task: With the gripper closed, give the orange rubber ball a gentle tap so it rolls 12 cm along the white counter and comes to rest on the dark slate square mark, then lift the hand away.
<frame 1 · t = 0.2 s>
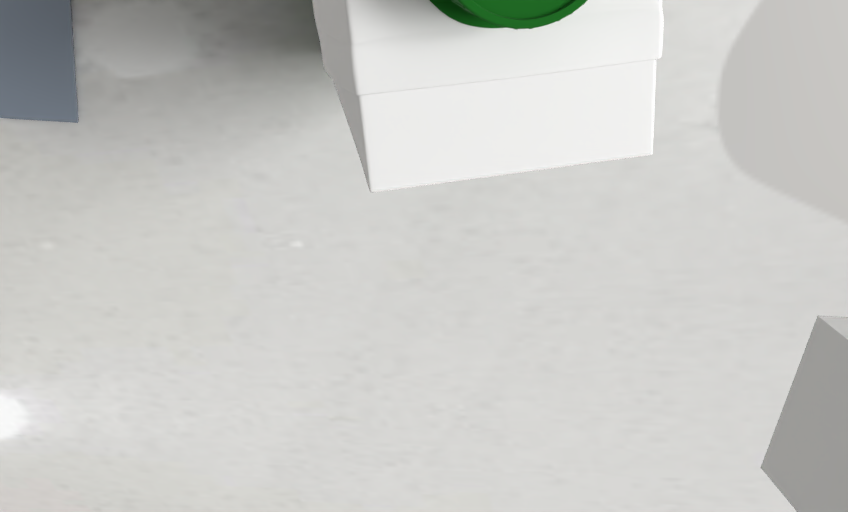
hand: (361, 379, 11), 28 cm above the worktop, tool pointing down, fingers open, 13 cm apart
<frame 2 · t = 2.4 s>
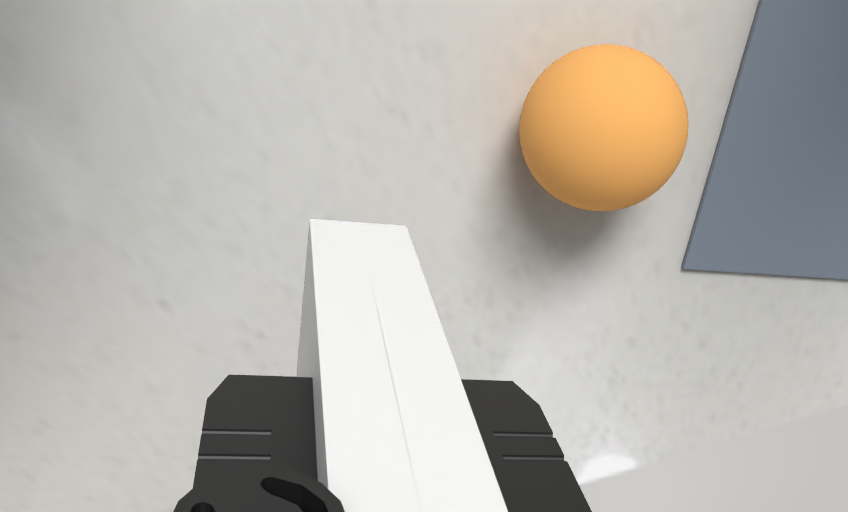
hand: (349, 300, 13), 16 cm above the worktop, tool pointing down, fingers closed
ball: (601, 129, 27), on the worktop
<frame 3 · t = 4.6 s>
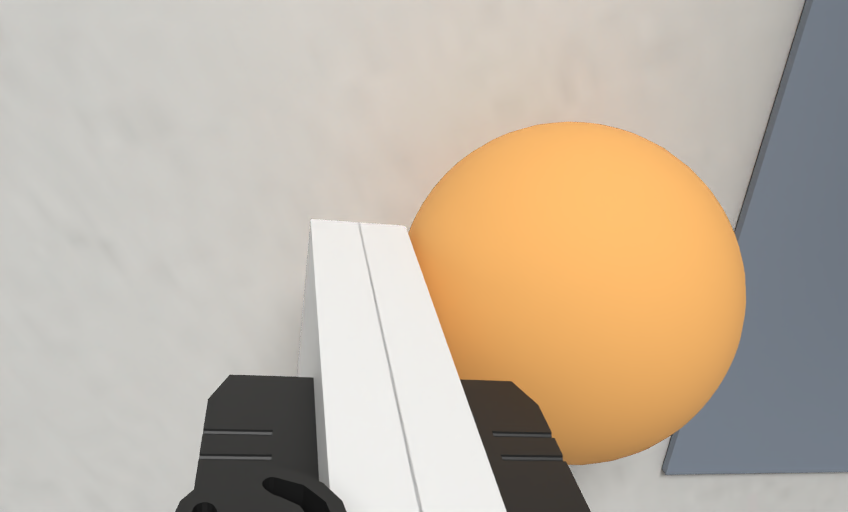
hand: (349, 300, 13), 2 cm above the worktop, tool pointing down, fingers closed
ball: (565, 291, 13), on the worktop
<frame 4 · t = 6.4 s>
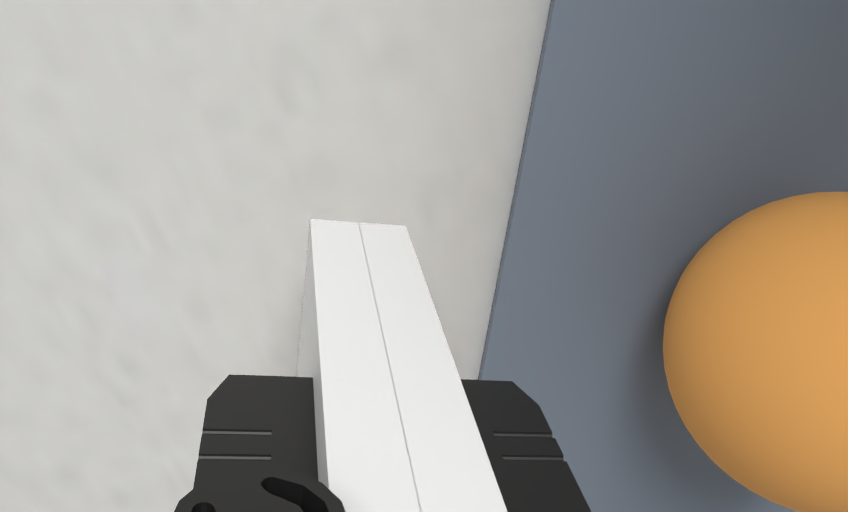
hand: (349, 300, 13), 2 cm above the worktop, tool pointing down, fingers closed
ball: (829, 351, 14), on the worktop
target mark: (782, 280, 16), on the worktop
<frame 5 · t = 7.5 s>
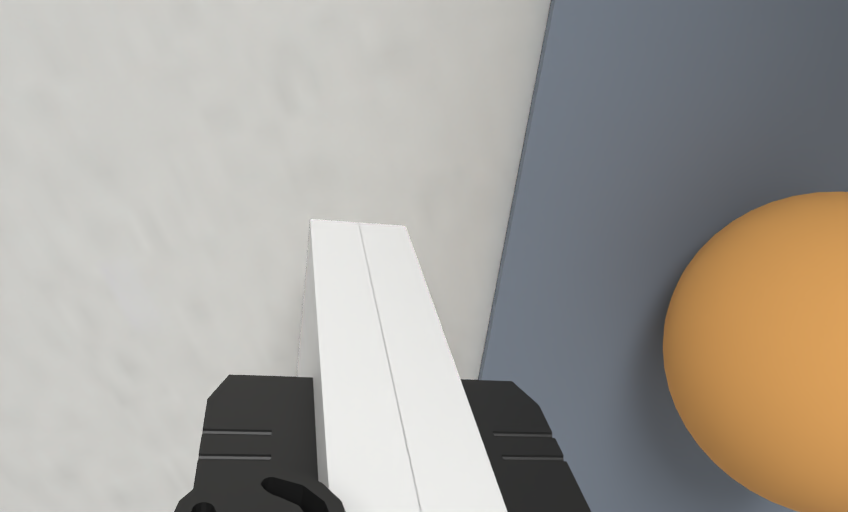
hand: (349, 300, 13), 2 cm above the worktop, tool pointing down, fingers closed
ball: (829, 351, 14), on the worktop
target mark: (782, 280, 16), on the worktop
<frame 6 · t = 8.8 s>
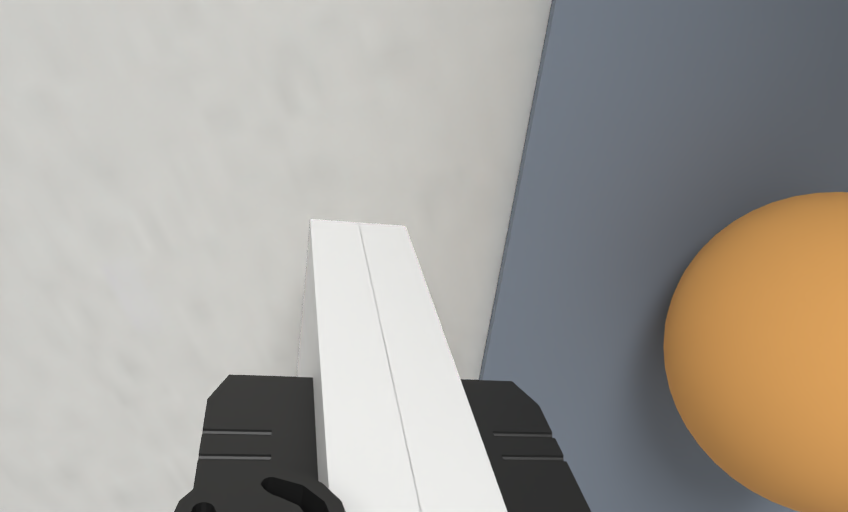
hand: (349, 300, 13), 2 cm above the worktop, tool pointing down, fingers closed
ball: (830, 351, 14), on the worktop
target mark: (782, 280, 16), on the worktop
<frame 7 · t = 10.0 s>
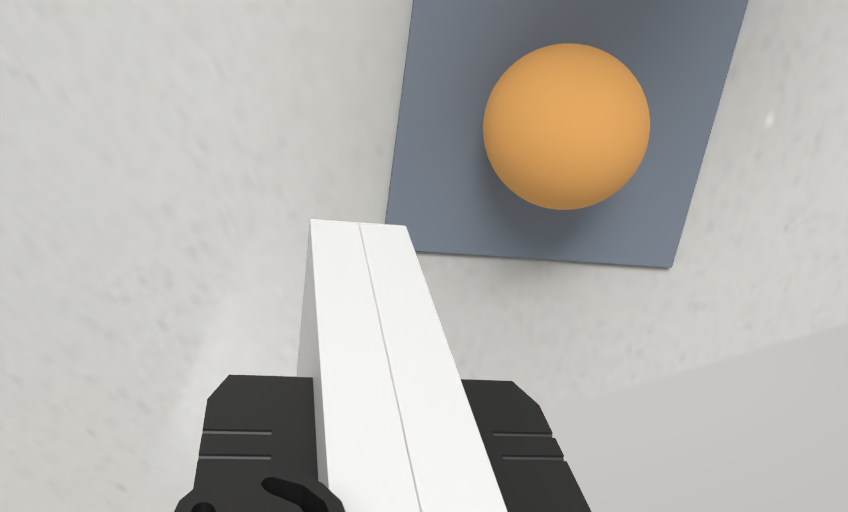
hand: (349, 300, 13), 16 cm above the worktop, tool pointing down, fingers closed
ball: (565, 127, 27), on the worktop
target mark: (562, 108, 29), on the worktop
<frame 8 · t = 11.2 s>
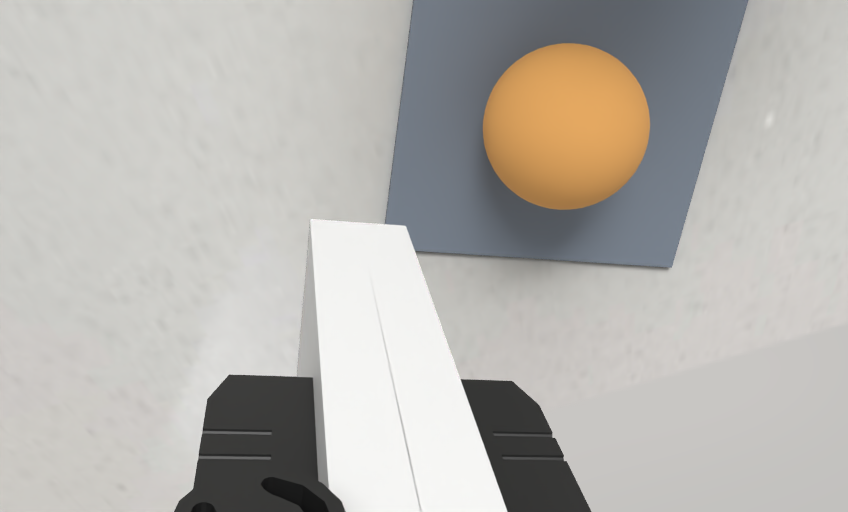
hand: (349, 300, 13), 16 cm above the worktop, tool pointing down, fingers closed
ball: (564, 127, 27), on the worktop
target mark: (562, 108, 29), on the worktop
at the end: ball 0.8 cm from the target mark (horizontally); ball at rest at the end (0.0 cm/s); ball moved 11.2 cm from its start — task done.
